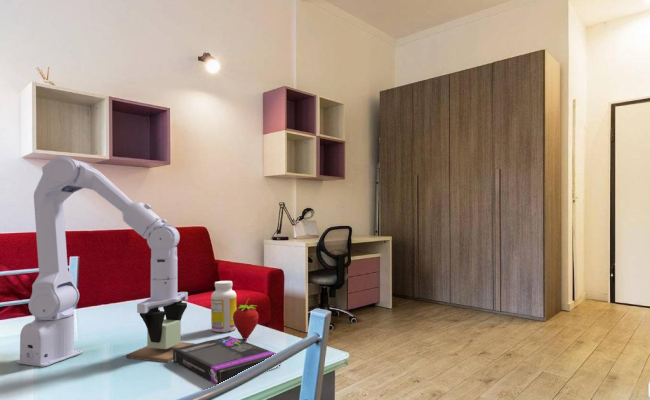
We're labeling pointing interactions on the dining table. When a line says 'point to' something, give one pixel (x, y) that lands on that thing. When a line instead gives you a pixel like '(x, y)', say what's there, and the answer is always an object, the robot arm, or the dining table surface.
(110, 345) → the dining table surface
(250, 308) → the strawberry
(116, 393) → the dining table surface
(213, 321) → the supplement bottle
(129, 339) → the dining table surface
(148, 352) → the walnut board
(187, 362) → the box
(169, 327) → the sage cube
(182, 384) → the dining table surface
